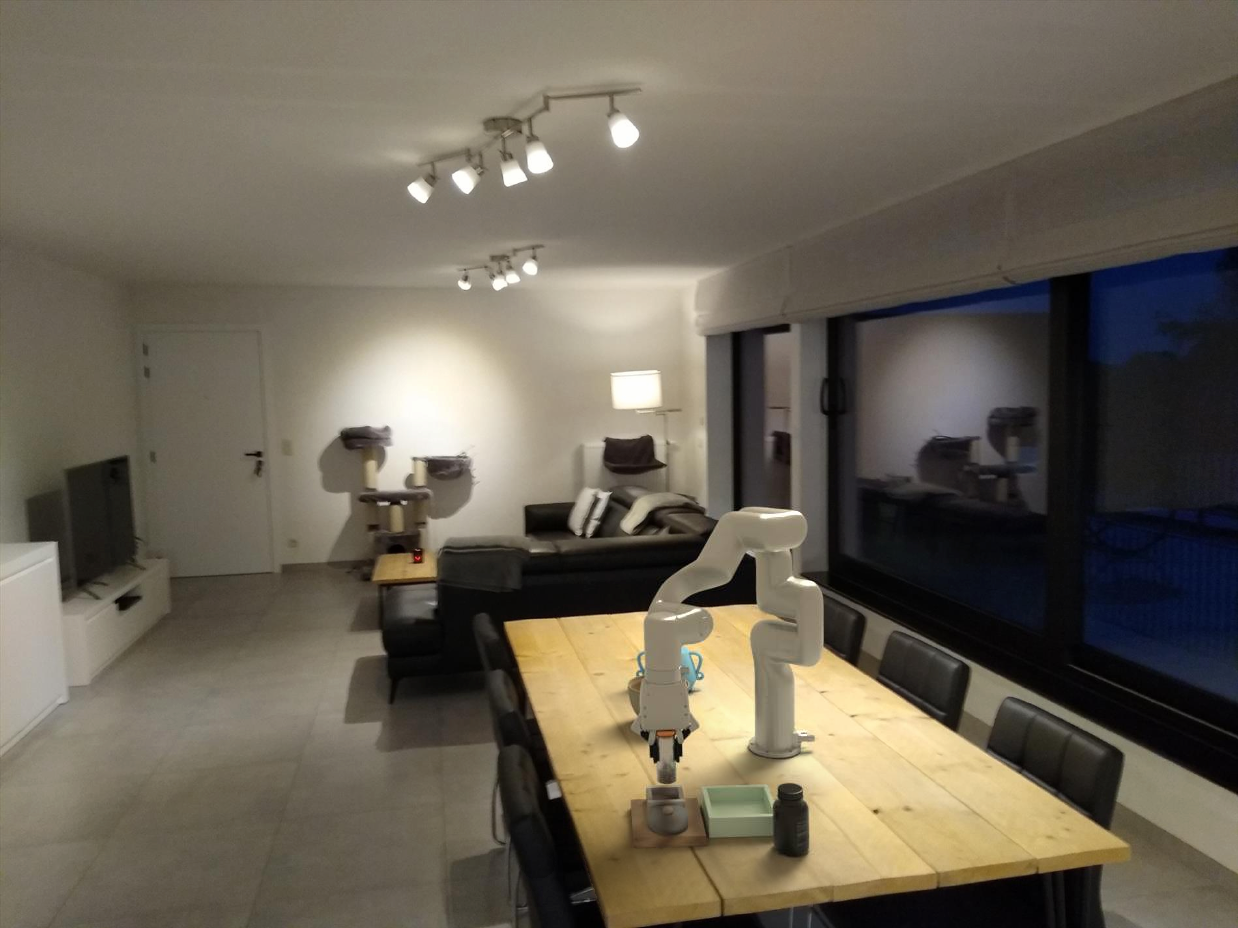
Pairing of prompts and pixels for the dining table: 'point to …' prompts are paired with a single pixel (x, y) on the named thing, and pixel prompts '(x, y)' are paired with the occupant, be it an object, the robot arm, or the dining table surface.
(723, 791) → the tray
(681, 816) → the wooden stand
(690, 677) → the decorative pot
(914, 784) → the dining table surface
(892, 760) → the dining table surface
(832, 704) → the dining table surface
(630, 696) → the planter bowl
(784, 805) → the supplement bottle
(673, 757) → the jar with copper lid
